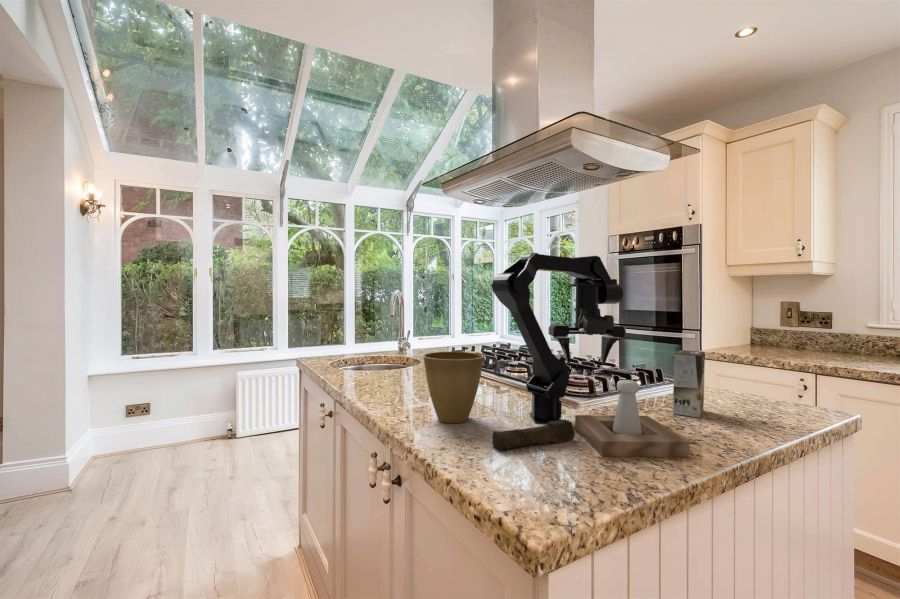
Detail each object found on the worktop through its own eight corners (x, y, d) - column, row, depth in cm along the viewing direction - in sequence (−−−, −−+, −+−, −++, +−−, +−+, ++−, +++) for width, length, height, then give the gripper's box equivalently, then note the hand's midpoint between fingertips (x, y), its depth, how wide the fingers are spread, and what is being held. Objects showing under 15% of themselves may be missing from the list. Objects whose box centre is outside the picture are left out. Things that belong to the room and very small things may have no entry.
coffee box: (700, 418, 107) (701, 355, 107) (672, 414, 111) (673, 353, 110) (704, 410, 114) (705, 351, 114) (677, 406, 118) (678, 349, 118)
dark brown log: (499, 454, 83) (499, 431, 83) (490, 447, 87) (491, 425, 87) (581, 445, 89) (581, 423, 89) (570, 438, 93) (570, 417, 92)
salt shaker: (636, 437, 93) (637, 378, 93) (645, 446, 87) (646, 384, 87) (609, 435, 93) (610, 377, 93) (616, 445, 88) (617, 383, 87)
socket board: (602, 456, 82) (602, 441, 82) (575, 427, 99) (575, 415, 99) (689, 457, 82) (689, 441, 82) (647, 428, 99) (647, 415, 99)
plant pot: (493, 424, 101) (494, 357, 100) (434, 431, 95) (435, 361, 95) (468, 408, 115) (468, 349, 114) (415, 413, 109) (415, 352, 109)
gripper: (559, 305, 102) (558, 369, 103) (636, 305, 103) (634, 369, 103) (548, 303, 114) (547, 361, 114) (617, 304, 114) (616, 361, 114)
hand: (585, 363), depth 111 cm, fingers open, 9 cm apart
